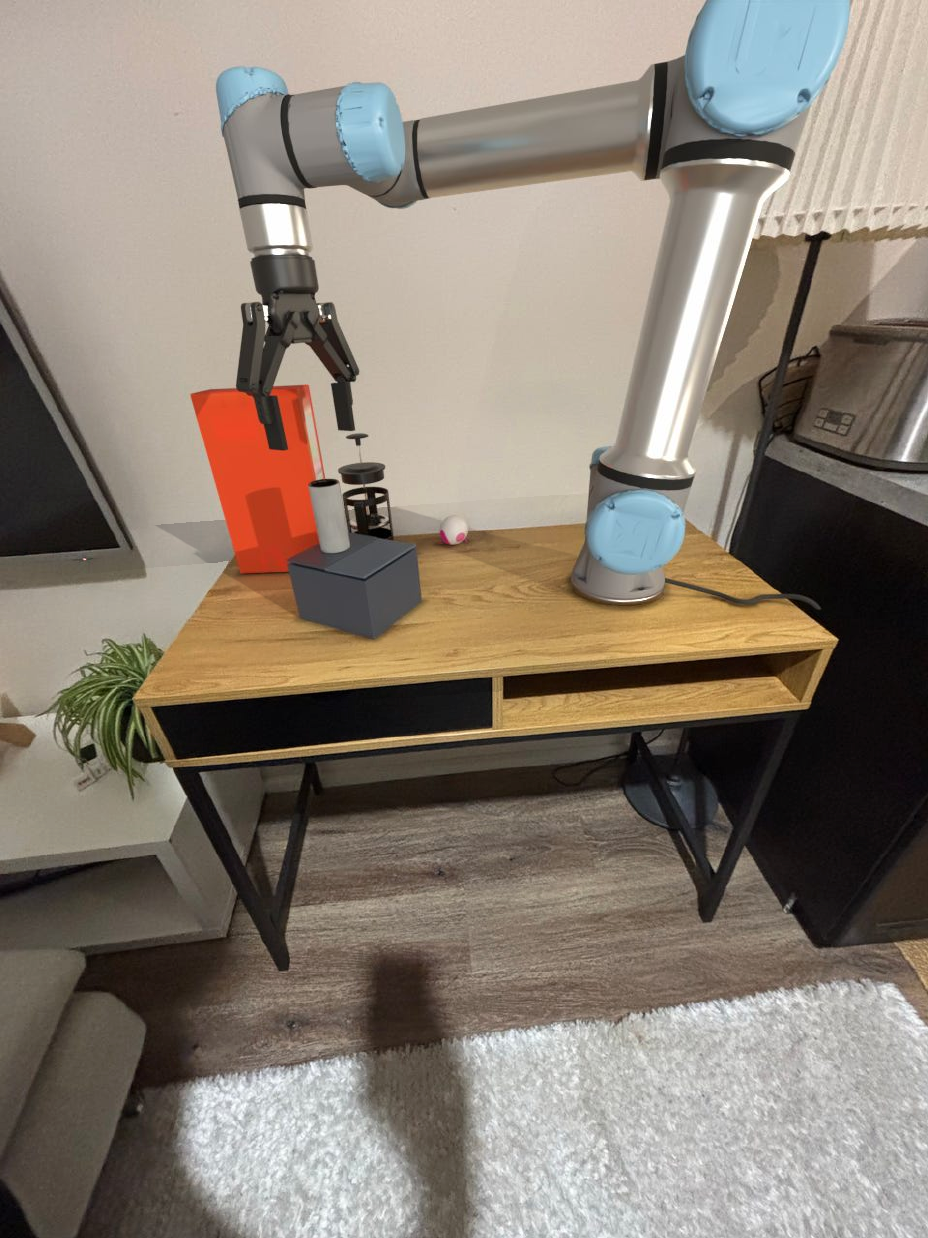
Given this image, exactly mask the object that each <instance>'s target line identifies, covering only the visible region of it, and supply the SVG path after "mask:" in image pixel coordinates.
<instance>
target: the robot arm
mask: <svg viewBox="0 0 928 1238" xmlns="http://www.w3.org/2000/svg"><path fill="white" fill-rule="evenodd" d="M850 14H851V0H705V1H704V3H703V6H702V8H701V9H700V10H699V12H698V13H697V15H696V17H695V21H694V24H693V25H692V28H691V29H690V32H689V35H688V38H687V44H686V48H685V52H684V54H683V55H681V56H679V57H677V58H674V59H671V60H667V61H663V62H658V63H652V64H650V66H649V67H648V68H647V69H646V71H645V72H644V73H643V75H642V76H641V77H640V78H639V79H637V80H631V81H625V82H619V83H615V84H608V85H603V86H597V87H592V88H591V87H590V88H586V89H585V88H584V89H580V90H574V91H569V92H563V93H558V94H552V95H546V96H540V97H535V98H534V97H533V98H529V99H522V100H518V101H511V102H506V103H500V104H495V105H490V106H484V107H477V108H472V109H467V110H460V111H456V112H450V113H444V114H439V115H433V116H427V117H422V118H420V119H414V120H413V119H412V120H406V121H403V117H402V112H401V109H400V106H399V105H398V103H397V99H396V95H395V94H394V92H393V91H392V89H391V87H389V86H388V85H387V84H386V83H384V82H360V81H353V82H349V83H348V84H346V85H342V86H336V87H329V88H324V89H319V90H314V91H313V90H312V91H306V92H302V93H296V94H290V93H289V90H288V85H287V83H286V81H285V80H284V78H283V77H282V76H281V75H280V74H278V73H277V72H275V71H272V70H271V69H268V68H265V67H260V66H251V67H247V66H243V65H240V66H233V67H229V68H226V69H225V70H223V71H222V72H221V73H220V74H219V75H218V77H217V79H216V82H215V94H216V100H217V105H218V111H219V119H220V131H221V136H222V138H223V139H224V144H225V148H226V152H227V157H228V160H229V161H228V162H229V165H230V170H231V174H232V179H233V183H234V184H233V185H234V188H235V192H236V197H237V204H238V208H239V215H240V219H241V224H242V225H241V226H242V228H243V233H244V238H245V243H246V249H247V250H248V252H249V253H251V254H253V255H254V257H252V258H251V260H250V262H249V264H250V269H251V273H252V278H253V284H254V287H255V290H256V293H257V294H258V295H260V296H261V302H260V301H252V302H242V303H241V304H240V313H241V319H242V331H241V340H240V348H239V356H238V363H237V373H236V381H235V388H237V390H238V391H239V392H245V393H246V394H247V395H249V396H253V398H254V401H255V406H256V410H257V414H258V418H259V421H260V423H261V424H264V428H265V432H266V437H267V441H268V446H269V449H271V450H282V451H285V450H288V445H287V440H286V436H285V431H284V426H283V421H282V417H281V412H280V407H279V402H278V398H277V395H270V394H271V391H272V388H273V386H275V382H276V380H277V376H278V374H279V371H280V368H281V365H282V361H283V359H284V357H285V353H286V350H287V349H288V348H290V346H291V345H292V344H293V345H295V344H305V345H307V346H308V347H310V349H311V350H312V351H313V353H314V354H315V355H316V357H317V358H318V359H319V361H320V362H321V364H322V365H323V367H324V368H325V369H326V370H327V372H328V373H329V375H330V376H331V378H333V380H334V381H335V382H331V383H330V387H331V393H332V394H331V395H332V400H333V406H334V407H333V408H334V412H335V419H336V426H337V430H338V431H343V432H354V431H356V425H355V418H354V412H353V405H354V399H353V392H352V384H351V383H355V382H356V381H357V376H359V375H360V368H359V365H358V364H357V361H356V359H355V357H354V354H353V352H352V350H351V348H350V346H349V343H348V341H347V338H346V336H345V334H344V332H343V329H342V327H341V325H340V322H339V319H338V315H337V311H336V306H335V303H334V302H332V301H329V302H328V301H327V302H317V300H316V293H318V291H319V289H320V286H319V279H318V274H317V273H318V272H317V268H316V267H317V266H316V260H314V259H313V257H312V256H310V254H309V253H311V252H312V251H313V249H314V245H313V240H312V234H311V228H310V223H309V216H308V211H307V203H306V196H305V189H317V188H324V187H336V186H347V187H349V188H351V189H353V190H355V191H357V192H359V193H361V194H364V195H366V196H367V197H369V198H370V199H373V200H374V201H376V202H377V203H378V204H380V205H381V206H384V207H385V208H388V209H396V210H404V209H407V208H408V209H409V208H410V207H412V206H414V205H415V204H416V203H417V202H418V201H423V200H428V199H433V198H440V197H449V196H455V195H462V194H463V195H464V194H470V193H477V192H486V191H493V190H494V191H495V190H501V189H509V188H516V187H524V186H531V185H538V184H546V183H554V182H560V181H568V180H575V179H576V180H577V179H584V178H591V177H599V176H605V175H613V174H620V173H628V172H632V173H633V174H634V175H635V177H637V178H638V180H639V181H640V182H645V181H651V180H660V181H661V183H662V185H663V187H664V189H665V190H666V192H667V194H668V198H669V204H668V207H667V208H668V209H667V212H666V217H665V221H664V226H663V229H662V235H661V240H660V245H659V248H658V253H657V257H656V262H655V265H654V269H653V275H652V278H651V282H650V283H651V284H650V288H649V292H648V297H647V301H646V305H645V310H644V315H643V319H642V323H641V328H640V333H639V336H638V342H637V346H636V350H635V354H634V358H633V364H632V368H631V373H630V377H629V381H628V386H627V390H626V394H625V399H624V404H623V408H622V411H621V412H622V413H621V417H620V420H619V425H618V430H617V435H616V439H615V443H614V444H613V445H607V446H605V445H604V446H600V447H596V448H595V450H593V452H592V454H591V459H590V460H591V461H590V464H589V466H588V467H589V470H590V471H589V482H588V483H589V485H588V495H587V496H588V497H587V507H586V508H587V510H586V521H585V524H584V542H583V544H582V547H581V549H580V551H579V553H578V556H577V558H576V561H575V563H574V565H573V568H572V571H571V573H570V574H571V575H570V586H571V588H572V589H571V590H572V591H574V593H575V594H577V595H579V596H580V597H581V598H583V599H585V600H588V601H590V602H593V603H596V604H600V605H604V606H610V607H621V608H623V607H624V608H626V607H627V608H629V607H639V606H644V605H648V604H651V603H653V602H655V601H657V600H659V599H660V598H661V597H662V596H663V595H664V592H665V587H666V584H669V585H672V586H677V587H681V588H684V589H688V590H693V591H696V592H700V593H704V594H707V595H711V596H715V597H718V598H721V599H724V600H726V601H729V602H731V603H734V604H739V605H752V604H755V603H757V602H759V601H762V600H783V599H784V600H785V599H786V600H798V601H802V602H804V603H806V604H808V605H809V606H811V607H812V608H813V609H815V610H821V609H822V608H821V606H820V605H819V604H818V603H817V602H816V601H815V600H813V599H812V598H810V597H808V596H805V595H800V594H797V593H766V594H765V593H764V594H759V595H756V596H754V597H751V598H748V599H746V598H745V599H743V598H737V597H734V596H732V595H729V594H726V593H724V592H721V591H717V590H715V589H712V588H711V589H710V588H708V587H703V586H700V585H695V584H691V583H688V582H684V581H680V580H675V579H671V578H667V577H666V575H665V571H664V569H665V568H664V566H665V565H667V564H668V563H669V562H670V561H671V560H673V559H674V557H675V556H676V555H677V554H678V552H679V551H680V549H681V547H682V545H683V543H684V540H685V535H686V527H687V523H686V517H685V515H684V512H685V509H686V505H687V503H688V499H689V495H690V493H691V490H692V486H693V483H694V479H695V476H696V473H697V470H696V468H695V466H694V464H693V462H692V461H691V459H690V458H689V450H690V447H691V444H692V440H693V437H694V434H695V430H696V428H697V424H698V421H699V417H700V414H701V410H702V407H703V403H704V401H705V397H706V394H707V390H708V388H709V383H710V380H711V377H712V374H713V371H714V367H715V363H716V360H717V357H718V353H719V351H720V347H721V343H722V340H723V337H724V333H725V331H726V327H727V323H728V320H729V317H730V314H731V310H732V307H733V304H734V300H735V297H736V293H737V290H738V286H739V283H740V280H741V277H742V274H743V270H744V267H745V265H746V264H745V263H746V260H747V257H748V253H749V250H750V247H751V243H752V240H753V237H754V233H755V230H756V226H757V223H758V220H759V216H760V213H761V210H762V207H763V203H764V202H765V201H766V200H767V198H768V197H769V196H771V194H773V193H774V192H775V191H777V189H778V188H780V187H781V186H782V185H783V184H784V183H785V182H787V181H788V178H789V177H790V173H791V170H792V167H793V164H794V160H795V158H796V155H797V152H798V148H799V145H800V142H801V138H802V135H803V132H804V129H805V126H806V123H807V119H808V116H809V113H810V110H811V106H812V104H813V103H814V102H815V101H816V99H818V97H819V96H820V94H821V93H822V91H823V90H824V88H825V86H826V85H827V83H828V82H829V81H830V79H831V75H832V73H833V71H834V70H835V68H836V67H837V64H838V60H839V58H840V55H841V53H842V50H843V47H844V45H845V41H846V39H847V34H848V30H849V22H850ZM266 323H267V329H266Z"/></svg>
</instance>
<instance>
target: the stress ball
mask: <svg viewBox="0 0 928 1238" xmlns="http://www.w3.org/2000/svg"><path fill="white" fill-rule="evenodd" d="M438 531H439V536H440V538H441V540H442V541H443V542H439V543H437V545H440V544H443V543H444V544H448V545H451V546H453V545H454V546H455V545H458V544H460V543H461V544H462V543H463V542H464V541H465V543H468V540H467V539H466V538H467V536H468V534H469V525H468V523H467V521H466V519H464V518H463V517H462V516H461V515H455V514H454V515H449V516H447V517H446V518H444V519H443V520H442V521H441V522H440V525H439V530H438Z"/></svg>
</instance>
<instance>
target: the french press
mask: <svg viewBox="0 0 928 1238" xmlns="http://www.w3.org/2000/svg"><path fill="white" fill-rule="evenodd" d="M369 436H370V435H369V434H367V433H363V432H360V433H359V432H358V433H351V434H347V435H346V436H345V439H347V440H354V442H355V446H356V447H357V451H358V452H357V453H358V460H359V462H355V463H350V464H346V465H343V466H341V467H339V468H338V469H337V472H338V474H339V475H341V476H340V477H341V482H342V483H343V484H346V485H350V486H361V487H356V488H351V489H349V490H346V491H344V492H343V493H341V494H342V500H343V506H344V512H345V518H346V524H347V530H348V532H349V533H355V534H361V535H367V536H372V537H377V538H380V539H387V540H393V541H395V536H394V528H393V527H394V526H393V519H392V509H391V502H390V493H389V489H387V488H385V487H382V486H366V485H371V484H376V483H378V482H381V481H383V480H384V479H385V471H384V470H385V469H386V465H385V464H384V463H381V462H373V461H371V462H370V461H369V462H363V459H362V453H361V447H360V446H361V445H362V443H361V440H362V439H366V438H368V437H369ZM362 485H363V486H362ZM376 494H379V496H377V497H376ZM359 495H364V499H352V497H354V496H359ZM380 495H381V496H380ZM385 502H386V505H387V514H384V513H379V512H378V505H380V504H384V503H385ZM348 506H349V507H353V510H354V516H353V517H351V518H350V512H349V507H348ZM388 525H389V528H388V527H386V526H388ZM352 530H355V531H352Z"/></svg>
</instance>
